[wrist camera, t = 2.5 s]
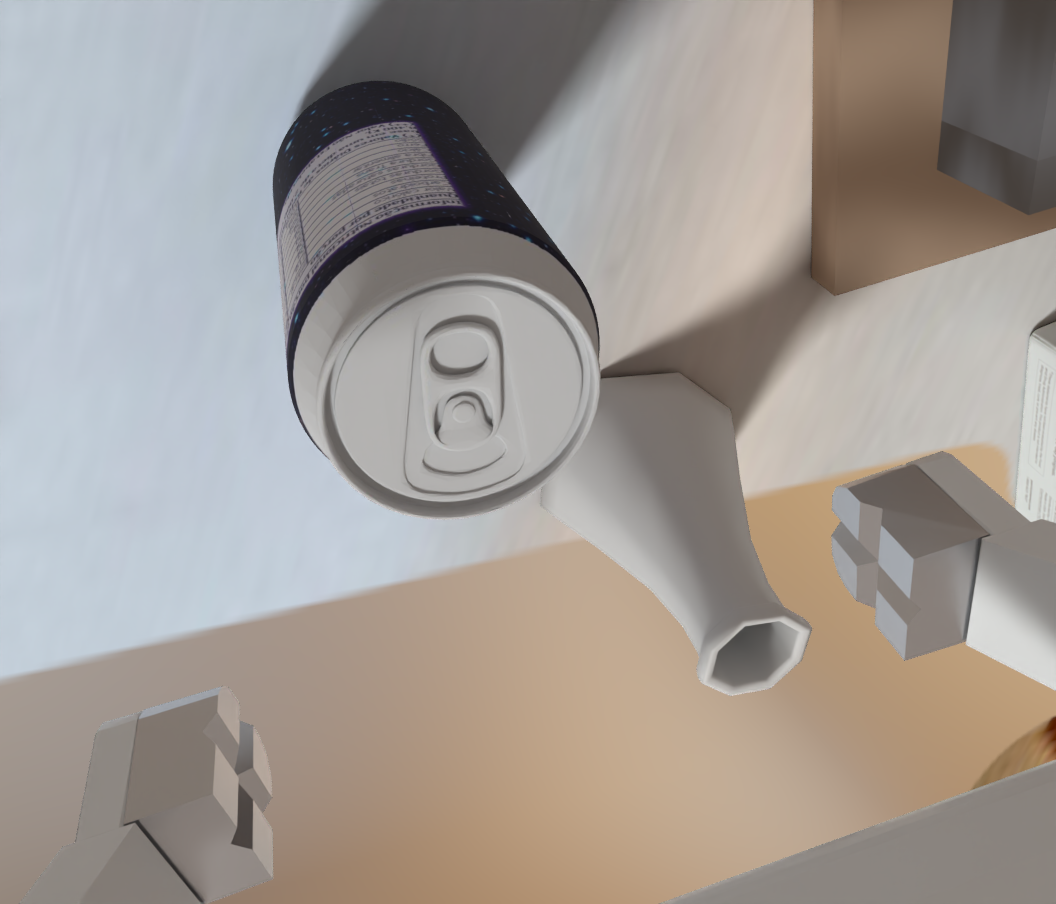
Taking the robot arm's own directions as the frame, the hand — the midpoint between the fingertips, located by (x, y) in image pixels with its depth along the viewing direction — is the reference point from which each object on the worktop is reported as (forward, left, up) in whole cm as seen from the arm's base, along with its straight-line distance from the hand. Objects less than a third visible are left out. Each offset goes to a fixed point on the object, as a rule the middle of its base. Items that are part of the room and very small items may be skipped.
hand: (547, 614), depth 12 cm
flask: (+12, +6, -17) cm, 21 cm away
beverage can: (0, 0, -17) cm, 17 cm away
